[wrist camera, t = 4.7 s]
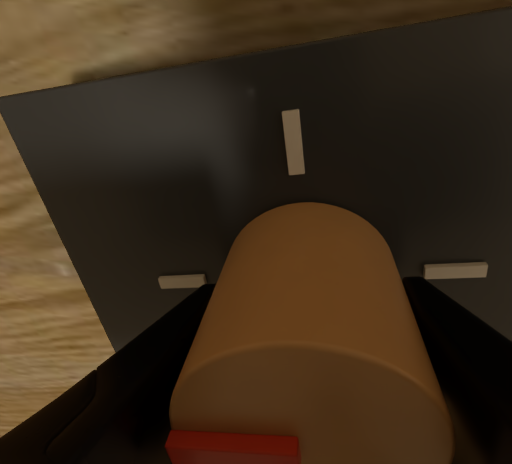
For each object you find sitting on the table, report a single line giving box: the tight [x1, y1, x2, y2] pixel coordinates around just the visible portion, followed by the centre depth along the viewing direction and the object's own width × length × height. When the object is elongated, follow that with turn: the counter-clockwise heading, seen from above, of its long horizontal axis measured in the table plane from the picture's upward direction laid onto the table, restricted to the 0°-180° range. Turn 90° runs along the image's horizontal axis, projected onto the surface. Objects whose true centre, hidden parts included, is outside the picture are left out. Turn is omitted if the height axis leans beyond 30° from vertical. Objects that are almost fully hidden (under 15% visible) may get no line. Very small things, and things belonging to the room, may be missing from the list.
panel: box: [0, 6, 512, 352], centre depth 11 cm, size 14×11×3 cm
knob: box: [165, 202, 456, 464], centre depth 7 cm, size 4×4×5 cm
